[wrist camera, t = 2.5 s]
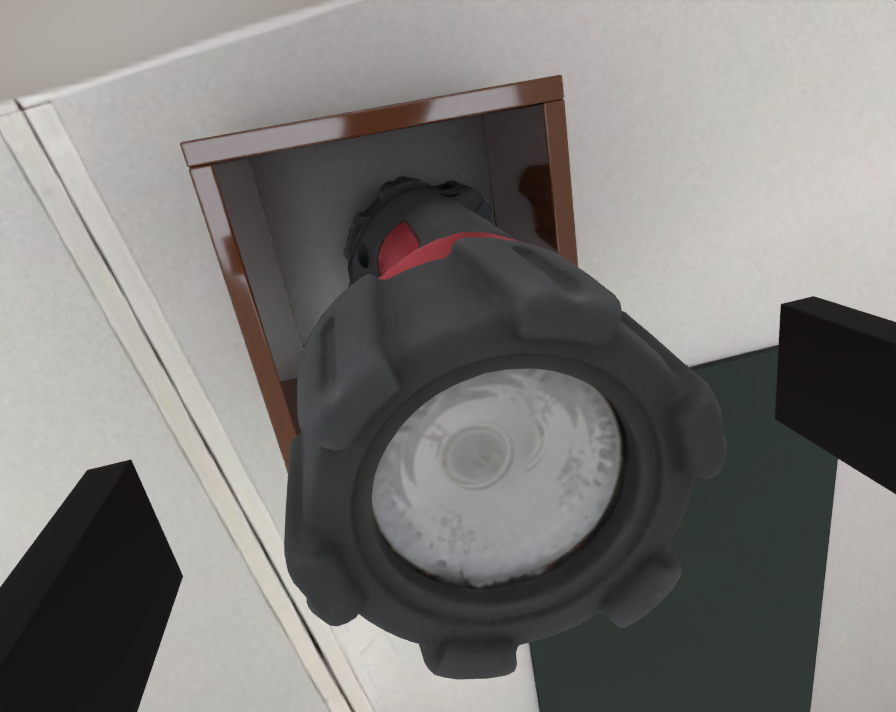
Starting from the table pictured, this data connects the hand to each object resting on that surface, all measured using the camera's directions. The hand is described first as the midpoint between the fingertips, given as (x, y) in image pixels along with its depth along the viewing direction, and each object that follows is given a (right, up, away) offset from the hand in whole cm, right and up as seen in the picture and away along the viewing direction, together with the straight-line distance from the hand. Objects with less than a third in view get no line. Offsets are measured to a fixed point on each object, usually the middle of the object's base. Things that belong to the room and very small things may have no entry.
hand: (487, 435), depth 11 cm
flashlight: (-4, +7, +19) cm, 20 cm away
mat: (+17, -18, +32) cm, 40 cm away
